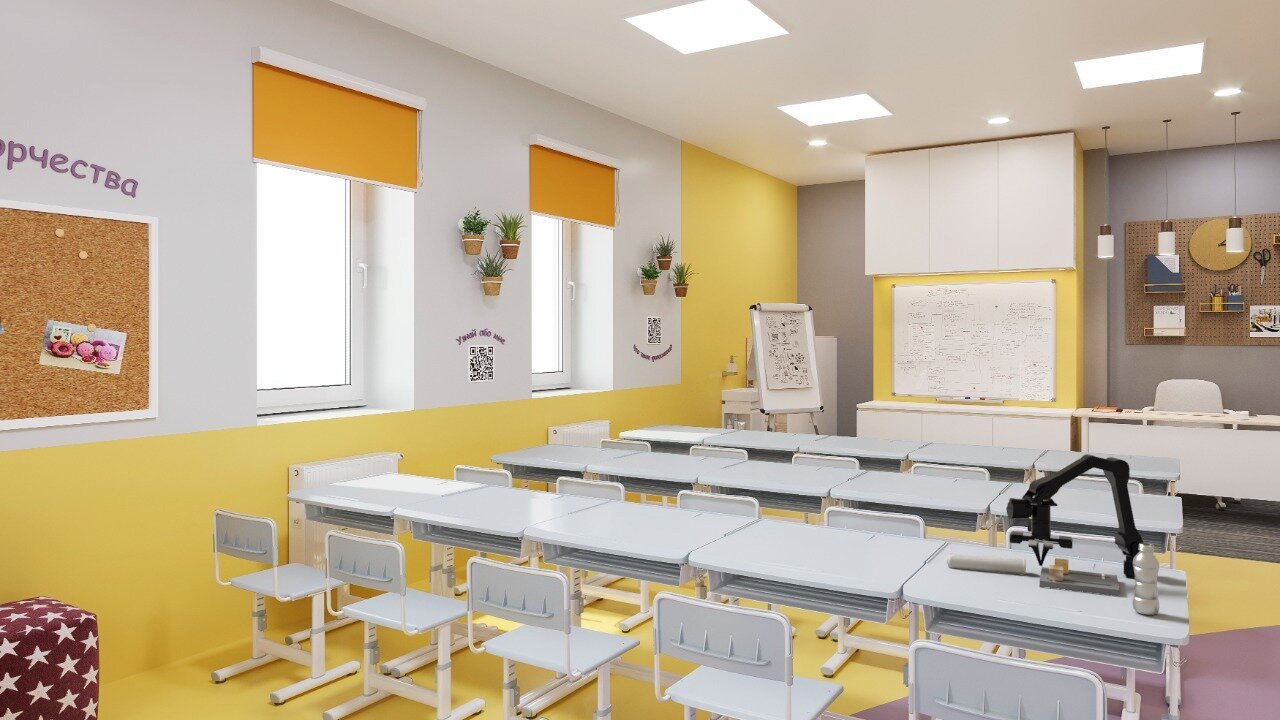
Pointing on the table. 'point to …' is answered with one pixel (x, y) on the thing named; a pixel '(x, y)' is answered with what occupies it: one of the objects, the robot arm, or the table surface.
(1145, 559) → the plastic bottle
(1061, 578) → the oak fader
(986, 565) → the tube
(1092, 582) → the fader panel
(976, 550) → the table surface
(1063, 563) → the block
